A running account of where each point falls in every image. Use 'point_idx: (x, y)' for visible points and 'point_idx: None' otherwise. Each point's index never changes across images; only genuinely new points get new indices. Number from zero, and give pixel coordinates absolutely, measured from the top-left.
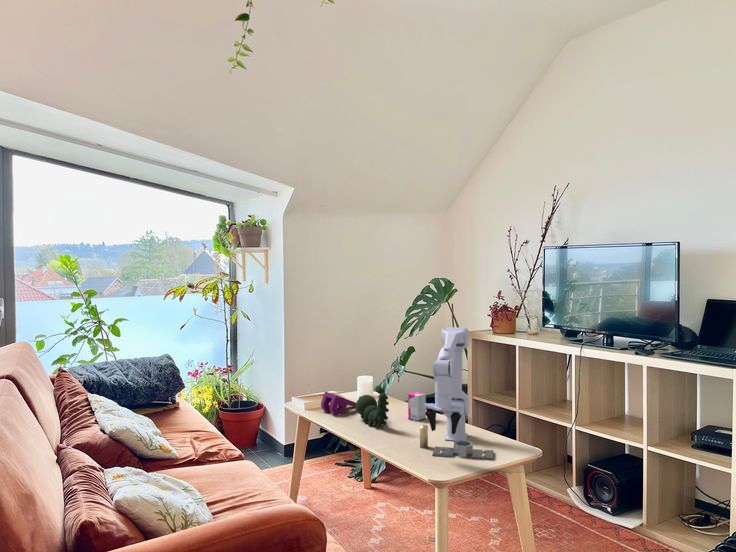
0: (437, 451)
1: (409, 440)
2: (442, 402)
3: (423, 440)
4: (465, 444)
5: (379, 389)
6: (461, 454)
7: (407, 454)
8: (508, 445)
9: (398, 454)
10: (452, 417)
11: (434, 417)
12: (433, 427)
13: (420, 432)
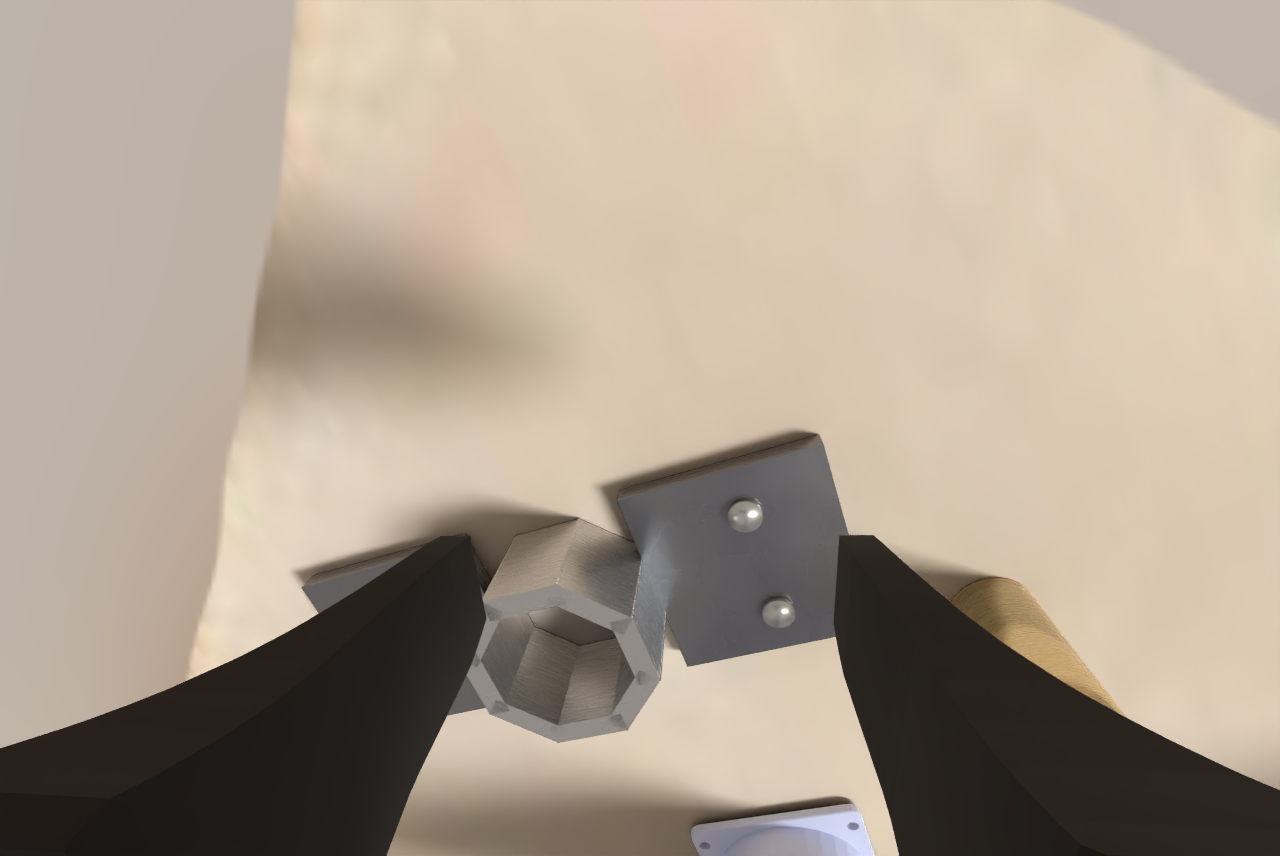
0: (798, 522)
1: (1194, 704)
2: None
3: (1022, 636)
4: (574, 697)
5: None
6: (549, 539)
7: (1109, 346)
8: (401, 850)
9: (1228, 292)
10: (81, 774)
11: (923, 848)
12: (855, 589)
13: (1118, 711)
